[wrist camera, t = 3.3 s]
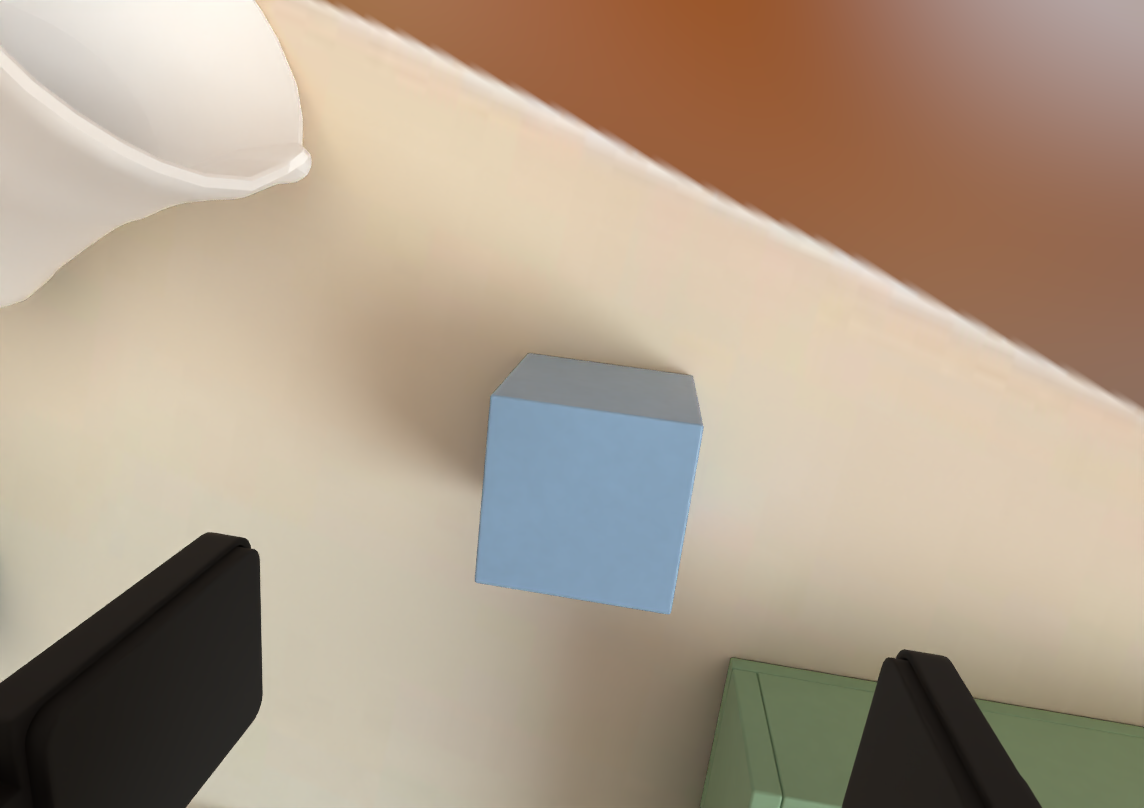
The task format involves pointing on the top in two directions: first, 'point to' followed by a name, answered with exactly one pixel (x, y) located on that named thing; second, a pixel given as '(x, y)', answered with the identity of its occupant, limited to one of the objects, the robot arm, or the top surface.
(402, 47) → the top surface
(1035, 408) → the top surface
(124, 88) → the cup
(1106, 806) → the toy bin
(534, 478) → the blue block
